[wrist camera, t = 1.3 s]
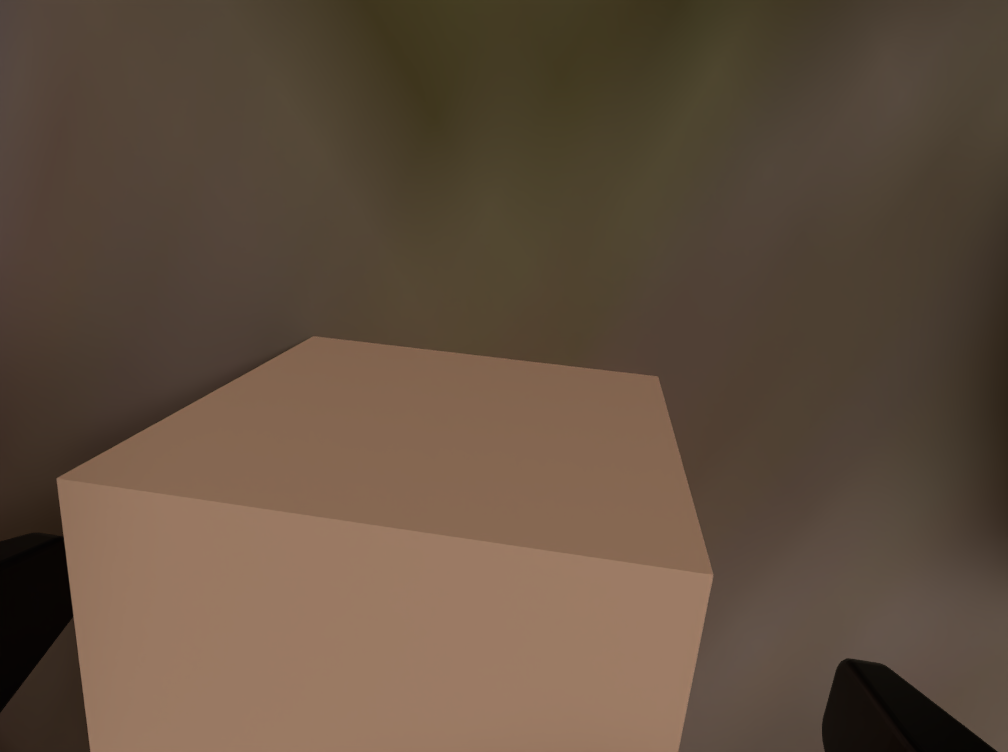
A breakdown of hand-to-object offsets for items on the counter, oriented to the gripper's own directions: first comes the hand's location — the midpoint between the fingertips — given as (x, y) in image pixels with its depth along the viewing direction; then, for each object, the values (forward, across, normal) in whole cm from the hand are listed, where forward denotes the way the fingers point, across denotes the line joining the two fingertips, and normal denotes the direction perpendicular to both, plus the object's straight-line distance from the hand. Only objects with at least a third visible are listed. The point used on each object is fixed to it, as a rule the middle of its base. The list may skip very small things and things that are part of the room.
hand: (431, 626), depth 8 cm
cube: (+3, 0, 0) cm, 3 cm away
